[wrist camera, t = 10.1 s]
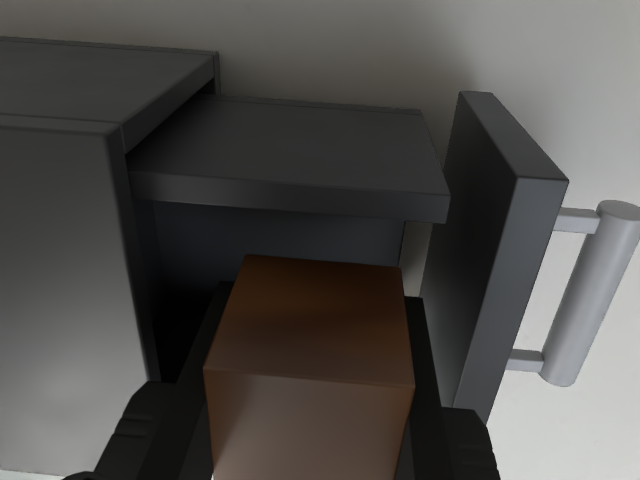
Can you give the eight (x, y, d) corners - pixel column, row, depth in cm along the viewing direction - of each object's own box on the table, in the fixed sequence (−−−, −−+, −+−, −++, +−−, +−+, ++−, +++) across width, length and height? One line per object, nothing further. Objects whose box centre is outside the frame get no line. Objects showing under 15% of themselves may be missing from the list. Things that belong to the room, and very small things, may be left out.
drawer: (610, 100, 18) (763, 194, 11) (525, 339, 23) (590, 495, 17) (125, 66, 18) (-11, 135, 12) (161, 306, 24) (84, 444, 17)
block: (401, 265, 14) (416, 387, 10) (382, 377, 16) (389, 511, 12) (245, 252, 14) (201, 367, 10) (248, 365, 16) (214, 492, 13)
